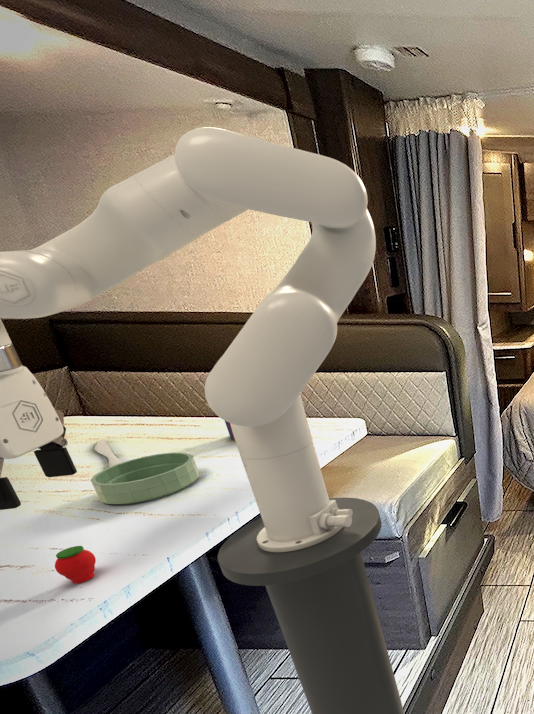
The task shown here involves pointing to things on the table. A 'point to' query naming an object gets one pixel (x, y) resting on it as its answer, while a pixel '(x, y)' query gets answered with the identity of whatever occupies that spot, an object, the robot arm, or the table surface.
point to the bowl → (145, 478)
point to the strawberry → (76, 564)
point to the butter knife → (107, 452)
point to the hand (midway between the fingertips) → (34, 490)
